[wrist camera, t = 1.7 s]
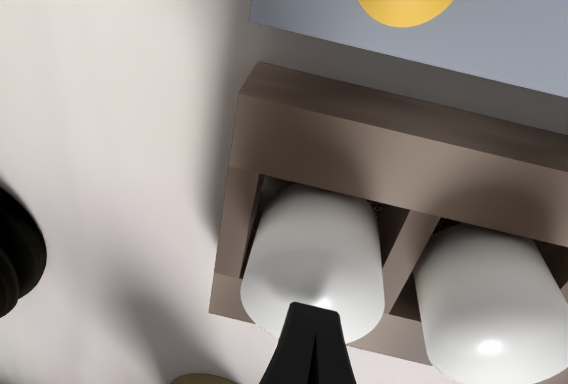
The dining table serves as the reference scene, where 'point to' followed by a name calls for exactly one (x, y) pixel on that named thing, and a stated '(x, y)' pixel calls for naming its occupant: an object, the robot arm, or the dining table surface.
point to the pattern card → (442, 33)
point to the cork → (200, 379)
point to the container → (18, 253)
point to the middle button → (490, 308)
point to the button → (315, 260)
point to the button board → (389, 183)
